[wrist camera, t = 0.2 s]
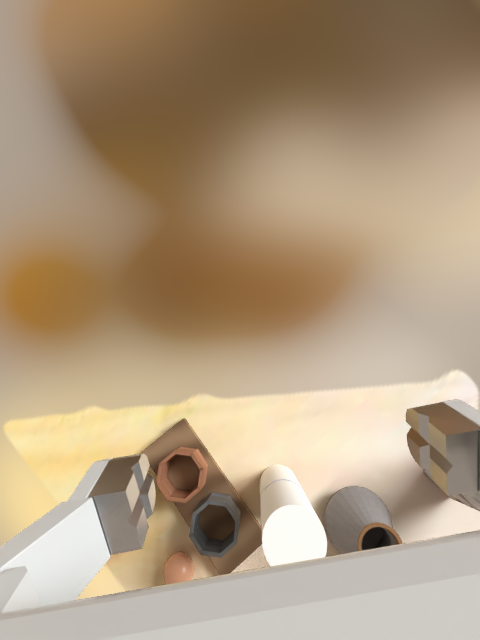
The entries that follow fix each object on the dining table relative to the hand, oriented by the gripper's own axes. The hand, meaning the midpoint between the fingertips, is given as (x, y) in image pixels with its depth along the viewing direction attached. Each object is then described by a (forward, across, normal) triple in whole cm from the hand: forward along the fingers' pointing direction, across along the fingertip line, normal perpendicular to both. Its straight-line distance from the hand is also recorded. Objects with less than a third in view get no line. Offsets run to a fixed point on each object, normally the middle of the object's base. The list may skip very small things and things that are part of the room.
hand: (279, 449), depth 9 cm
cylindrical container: (+41, +2, -37) cm, 56 cm away
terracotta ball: (+34, -18, -45) cm, 59 cm away
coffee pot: (+36, +18, -47) cm, 62 cm away
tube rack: (+42, -13, -36) cm, 57 cm away
